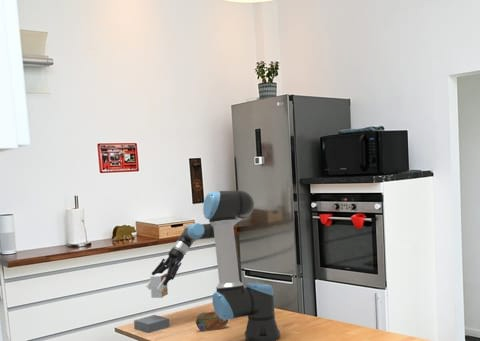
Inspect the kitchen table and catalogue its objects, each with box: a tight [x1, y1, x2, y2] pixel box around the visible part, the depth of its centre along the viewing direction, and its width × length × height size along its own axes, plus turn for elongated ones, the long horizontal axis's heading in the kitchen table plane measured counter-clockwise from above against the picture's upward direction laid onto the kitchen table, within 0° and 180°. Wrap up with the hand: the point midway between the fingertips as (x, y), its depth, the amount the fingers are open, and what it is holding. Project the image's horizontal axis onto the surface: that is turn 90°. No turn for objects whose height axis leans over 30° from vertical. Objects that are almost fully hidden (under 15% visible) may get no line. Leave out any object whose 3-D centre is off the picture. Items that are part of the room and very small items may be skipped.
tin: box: [195, 310, 229, 332], centre depth 225 cm, size 15×3×8 cm, turn 105°
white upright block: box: [150, 272, 169, 299], centre depth 236 cm, size 8×6×10 cm
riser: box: [133, 314, 170, 334], centre depth 233 cm, size 12×12×4 cm
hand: (153, 289), depth 234 cm, fingers closed on white upright block, 9 cm apart
